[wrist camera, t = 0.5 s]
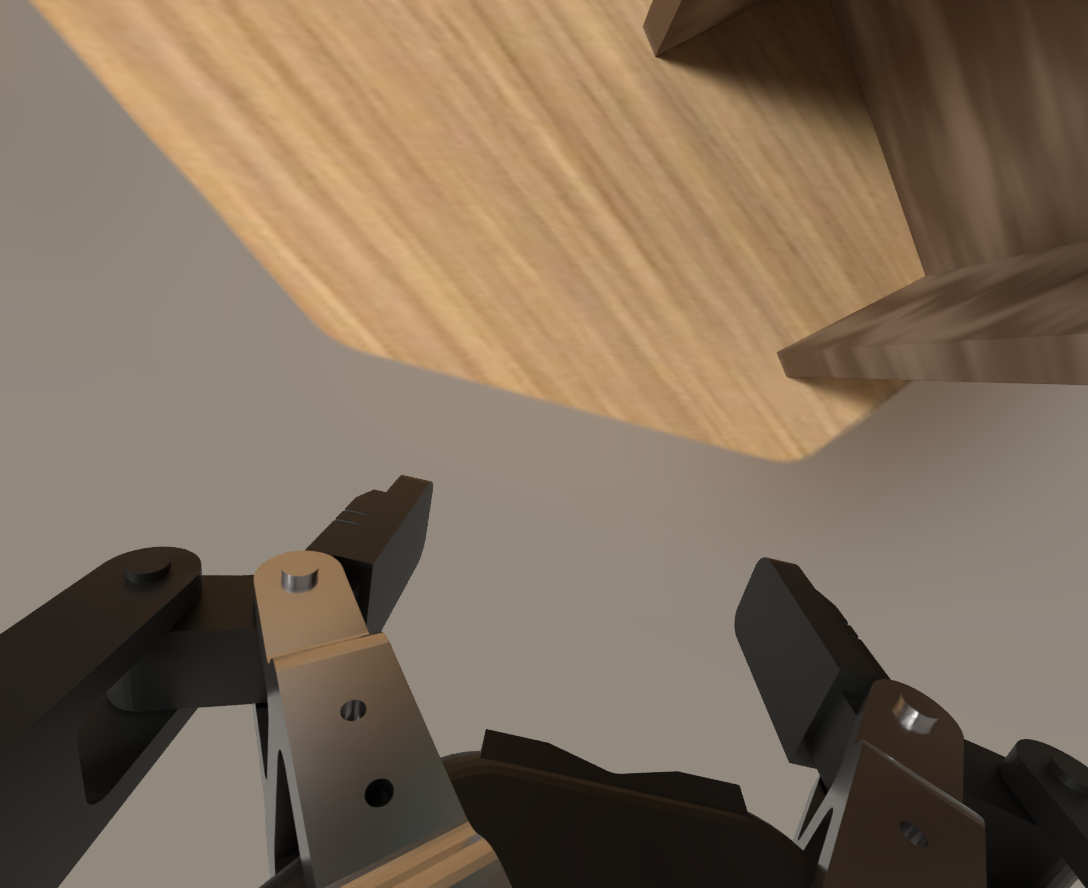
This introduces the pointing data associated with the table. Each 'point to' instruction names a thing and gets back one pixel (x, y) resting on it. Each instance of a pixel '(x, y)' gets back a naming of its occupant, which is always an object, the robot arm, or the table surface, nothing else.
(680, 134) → the table surface
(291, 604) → the robot arm
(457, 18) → the table surface
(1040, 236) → the brown wooden box
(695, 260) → the table surface
